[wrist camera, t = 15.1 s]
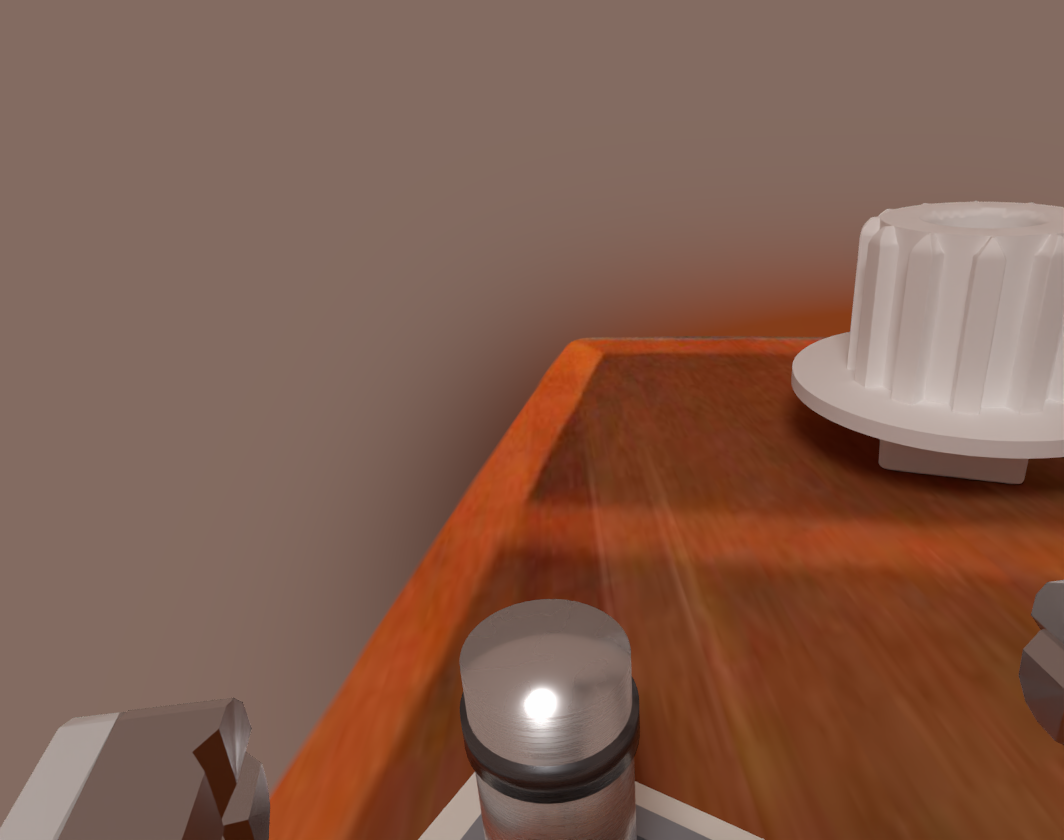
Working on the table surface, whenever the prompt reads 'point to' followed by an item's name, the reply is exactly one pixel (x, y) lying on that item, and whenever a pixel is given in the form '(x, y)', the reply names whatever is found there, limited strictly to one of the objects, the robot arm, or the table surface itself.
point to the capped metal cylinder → (551, 722)
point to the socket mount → (661, 822)
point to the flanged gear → (951, 341)
